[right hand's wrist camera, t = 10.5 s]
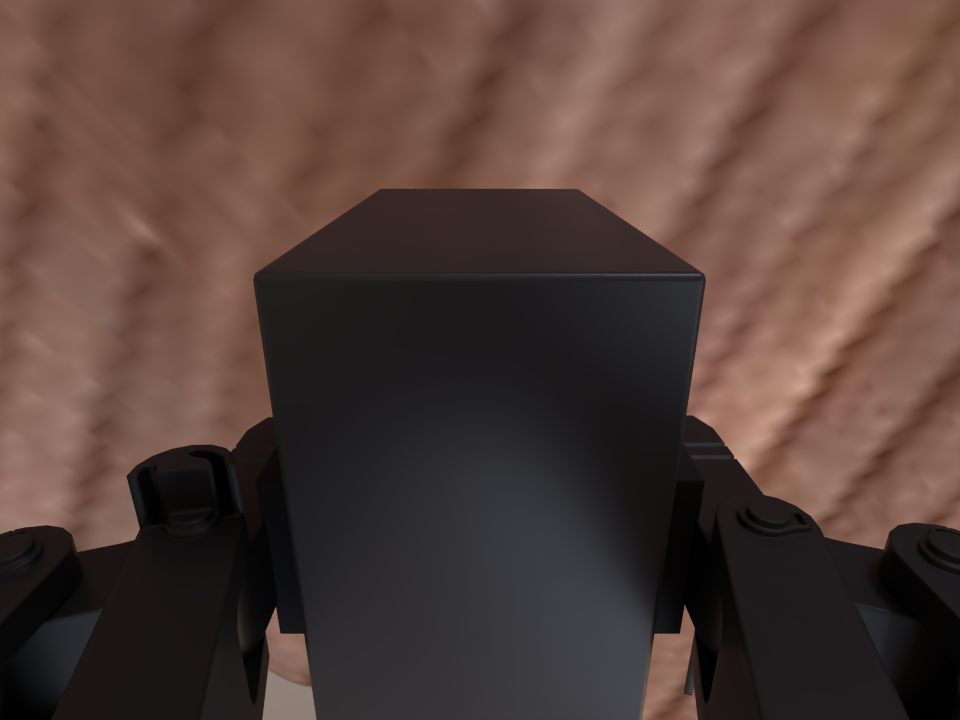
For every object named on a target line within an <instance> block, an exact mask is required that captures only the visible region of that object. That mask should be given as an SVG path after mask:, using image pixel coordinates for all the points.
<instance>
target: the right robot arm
mask: <svg viewBox="0 0 960 720" xmlns="http://www.w3.org/2000/svg"><path fill="white" fill-rule="evenodd" d="M127 480H128V484H129V487H130V491H131V495H132V499H133V503H134V507H135V511H136V514H137V518H138V522H139V526H140V530H139V532H138V535H137V537H136V539H135V540H133V541H129V542H125V543H121V544H116V545H111V546H106V547H101V548H96V549H91V550H86V551H81V552H77V550H76V547H75V543H74V540H73V537H72V535H71V534H70V533H69V532H68V531H66V530H65V529H64V528H61V527H54V526H48V525H45V526H36V527H25V528H20V529H16V530H15V531H9V532H6V533H3V534H0V720H262V717H263V708H264V699H265V690H266V682H267V673H268V664H269V650H268V644H267V638H266V632H265V631H266V629H267V626H268V624H269V622H270V619H271V617H272V614H273V612H274V610H275V607H276V609H277V615H278V621H279V627H280V633H281V634H304V629H303V622H302V615H301V608H300V601H299V594H298V587H297V580H296V573H295V566H294V559H293V552H292V545H291V538H290V531H289V525H288V518H287V511H286V504H285V497H284V490H283V483H282V476H281V469H280V462H279V455H278V448H277V441H276V434H275V427H274V420H273V417H268V418H266V419H265V420H263V421H262V422H260V423H258V424H257V425H255V426H254V427H252V428H251V429H249V430H247V432H246V433H245V434H244V436H243V437H242V438H241V440H240V441H239V442H238V444H237V445H236V448H234V449H233V450H232V452H230V451H229V450H227V449H226V448H223V447H219V446H214V445H190V446H185V447H180V448H174V449H171V450H168V451H165V452H162V453H160V454H157V455H154V456H152V457H150V458H148V459H147V460H145V461H143V462H142V463H140V464H138V465H137V466H136V467H135V468H134V469H133V470H132V471H131V472H130V473H129V474H128V475H127ZM684 605H685V606H686V608H687V611H688V613H689V615H690V618H691V620H692V622H693V625H694V627H695V632H694V638H693V644H692V649H691V655H690V661H689V666H688V672H687V678H686V684H685V690H684V694H687V695H692V692H693V687H694V689H695V698H696V707H697V715H698V720H960V531H958V530H955V529H952V528H949V529H948V528H947V527H944V526H940V525H931V524H922V523H909V524H903V525H898V526H897V527H895V528H894V529H893V530H892V531H890V532H889V535H888V539H887V542H886V545H885V548H884V550H882V549H877V548H872V547H867V546H862V545H857V544H852V543H847V542H842V541H837V540H834V539H830V538H826V537H824V536H823V533H822V531H821V529H820V527H819V526H818V525H817V524H816V522H815V521H814V520H813V519H812V517H811V516H810V515H808V514H807V513H805V512H804V511H802V510H801V509H799V508H798V507H797V506H795V505H792V504H790V503H788V502H785V501H783V500H781V499H778V498H775V497H770V496H766V495H763V493H762V492H761V491H760V489H759V488H758V487H757V485H756V484H755V483H754V481H753V480H752V479H751V477H750V476H749V475H748V474H747V472H746V471H745V470H744V468H743V467H742V466H741V464H740V463H739V462H738V460H737V459H734V455H733V454H732V453H731V451H730V450H729V449H728V447H727V446H725V445H724V442H723V441H722V439H721V438H720V437H719V435H718V434H717V433H716V432H715V430H714V429H713V428H712V427H710V426H708V425H707V424H705V423H704V422H702V421H700V420H699V419H697V418H696V417H694V416H686V420H685V427H684V433H683V440H682V447H681V454H680V461H679V468H678V475H677V481H676V488H675V495H674V502H673V509H672V516H671V523H670V530H669V536H668V543H667V550H666V557H665V564H664V571H663V578H662V584H661V591H660V598H659V605H658V612H657V619H656V626H655V632H654V634H680V629H681V623H682V617H683V611H684Z"/></svg>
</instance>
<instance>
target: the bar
mask: <svg viewBox="0 0 960 720" xmlns="http://www.w3.org/2000/svg"><path fill="white" fill-rule="evenodd" d="M253 281H254V288H255V295H256V302H257V309H258V316H259V323H260V330H261V337H262V344H263V351H264V358H265V365H266V372H267V379H268V386H269V393H270V399H271V406H272V413H273V420H274V427H275V434H276V441H277V448H278V455H279V462H280V469H281V476H282V483H283V490H284V497H285V504H286V511H287V518H288V525H289V531H290V538H291V545H292V552H293V559H294V566H295V573H296V580H297V587H298V594H299V601H300V608H301V615H302V622H303V629H304V636H305V643H306V650H307V656H308V663H309V670H310V677H311V684H312V691H313V698H314V705H315V712H316V719H317V720H642V715H643V708H644V701H645V694H646V687H647V680H648V674H649V667H650V660H651V653H652V646H653V639H654V632H655V626H656V619H657V612H658V605H659V598H660V591H661V584H662V578H663V571H664V564H665V557H666V550H667V543H668V536H669V530H670V523H671V516H672V509H673V502H674V495H675V488H676V481H677V475H678V468H679V461H680V454H681V447H682V440H683V433H684V427H685V420H686V413H687V406H688V399H689V392H690V385H691V379H692V372H693V365H694V358H695V351H696V344H697V337H698V331H699V324H700V317H701V310H702V303H703V296H704V289H705V283H706V279H705V275H704V274H703V273H702V272H700V271H699V270H697V269H696V268H694V267H693V266H691V265H690V264H689V263H687V262H686V261H684V260H683V259H681V258H680V257H678V256H677V255H675V254H674V253H672V252H671V251H669V250H668V249H666V248H665V247H663V246H662V245H660V244H659V243H657V242H656V241H654V240H653V239H651V238H650V237H648V236H647V235H645V234H644V233H642V232H641V231H639V230H638V229H636V228H635V227H633V226H632V225H630V224H629V223H627V222H626V221H624V220H623V219H621V218H620V217H619V216H617V215H616V214H614V213H613V212H611V211H610V210H608V209H607V208H605V207H604V206H602V205H601V204H599V203H598V202H596V201H595V200H593V199H592V198H590V197H589V196H587V195H586V194H584V193H583V192H581V191H580V190H578V189H380V190H378V191H377V192H375V193H374V194H372V195H371V196H369V197H368V198H367V199H365V200H364V201H362V202H361V203H359V204H358V205H356V206H355V207H353V208H352V209H350V210H349V211H347V212H346V213H344V214H343V215H341V216H340V217H338V218H337V219H335V220H334V221H332V222H331V223H329V224H328V225H326V226H325V227H324V228H322V229H321V230H319V231H318V232H316V233H315V234H313V235H312V236H310V237H309V238H307V239H306V240H304V241H303V242H301V243H300V244H298V245H297V246H295V247H294V248H292V249H291V250H289V251H288V252H286V253H285V254H283V255H282V256H280V257H279V258H278V259H276V260H275V261H273V262H272V263H270V264H269V265H267V266H266V267H264V268H263V269H261V270H260V271H258V272H257V273H255V275H254V279H253Z"/></svg>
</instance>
